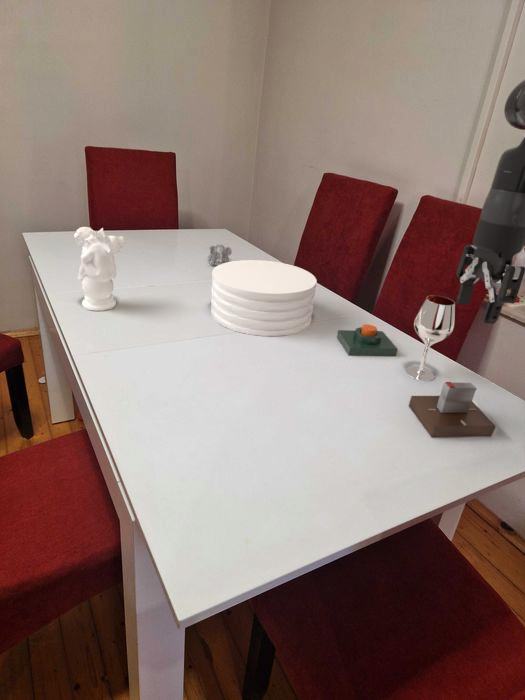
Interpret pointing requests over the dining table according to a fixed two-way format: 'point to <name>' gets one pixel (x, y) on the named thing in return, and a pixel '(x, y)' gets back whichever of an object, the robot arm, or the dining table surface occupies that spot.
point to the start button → (368, 330)
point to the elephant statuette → (219, 254)
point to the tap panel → (450, 419)
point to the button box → (366, 343)
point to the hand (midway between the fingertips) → (474, 312)
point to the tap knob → (456, 397)
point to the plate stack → (262, 297)
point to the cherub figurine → (97, 267)
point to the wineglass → (432, 329)
